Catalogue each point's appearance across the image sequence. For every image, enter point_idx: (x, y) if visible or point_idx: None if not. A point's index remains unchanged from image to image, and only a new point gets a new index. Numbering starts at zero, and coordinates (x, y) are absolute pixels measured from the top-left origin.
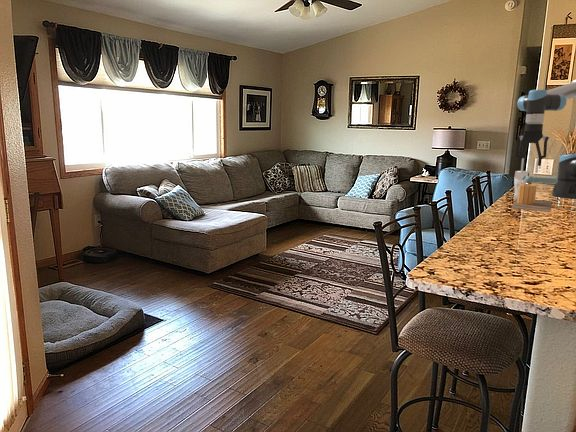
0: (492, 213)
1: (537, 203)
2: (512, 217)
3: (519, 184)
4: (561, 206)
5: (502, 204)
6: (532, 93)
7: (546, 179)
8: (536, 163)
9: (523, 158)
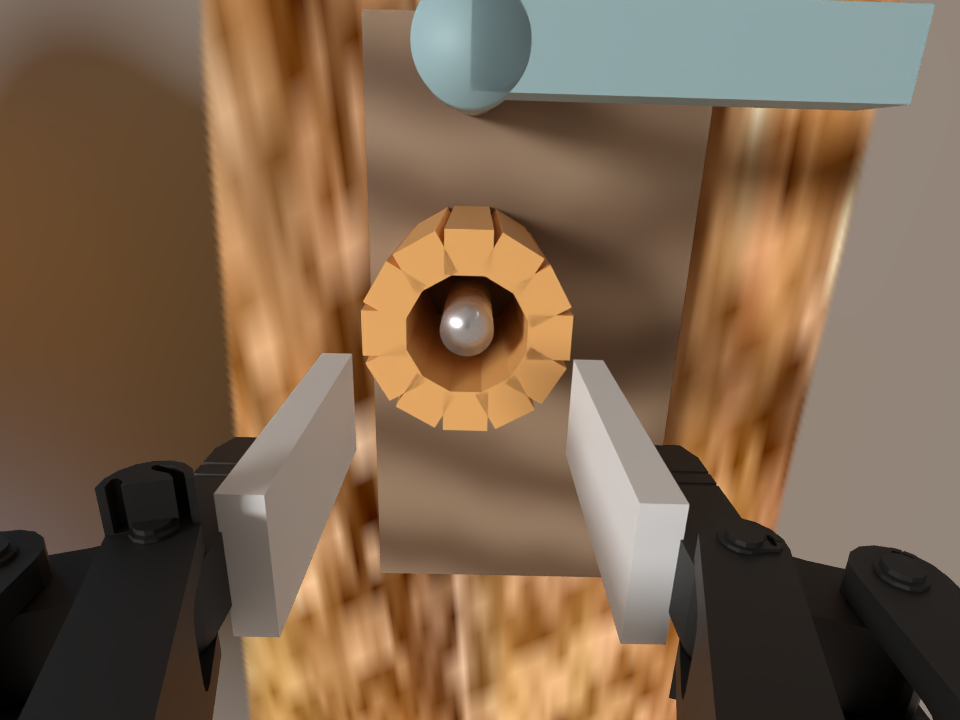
0: (289, 656)
1: (571, 254)
2: (418, 710)
3: (368, 335)
4: (784, 133)
5: (277, 283)
6: None
7: (737, 100)
8: (598, 560)
9: (265, 592)
